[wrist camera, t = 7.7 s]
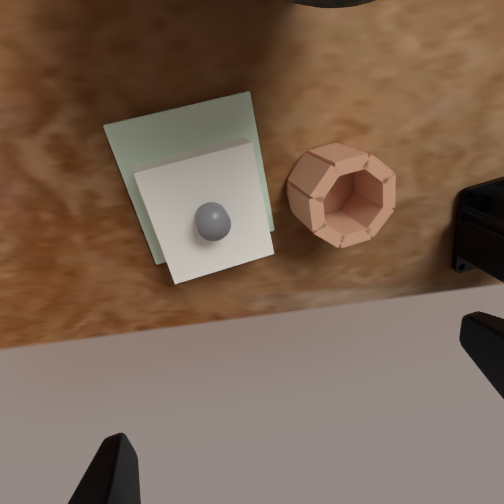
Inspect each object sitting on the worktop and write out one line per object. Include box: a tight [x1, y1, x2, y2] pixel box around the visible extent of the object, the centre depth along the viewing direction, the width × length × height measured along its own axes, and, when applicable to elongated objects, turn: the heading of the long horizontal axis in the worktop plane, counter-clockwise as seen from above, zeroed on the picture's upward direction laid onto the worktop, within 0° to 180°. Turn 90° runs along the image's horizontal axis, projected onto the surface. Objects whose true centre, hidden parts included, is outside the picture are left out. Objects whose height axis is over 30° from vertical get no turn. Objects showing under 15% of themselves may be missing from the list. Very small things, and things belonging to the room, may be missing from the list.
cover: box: [133, 137, 274, 284], centre depth 17 cm, size 6×6×3 cm
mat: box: [103, 91, 275, 265], centre depth 18 cm, size 7×8×1 cm
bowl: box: [287, 143, 396, 248], centre depth 19 cm, size 5×5×4 cm
